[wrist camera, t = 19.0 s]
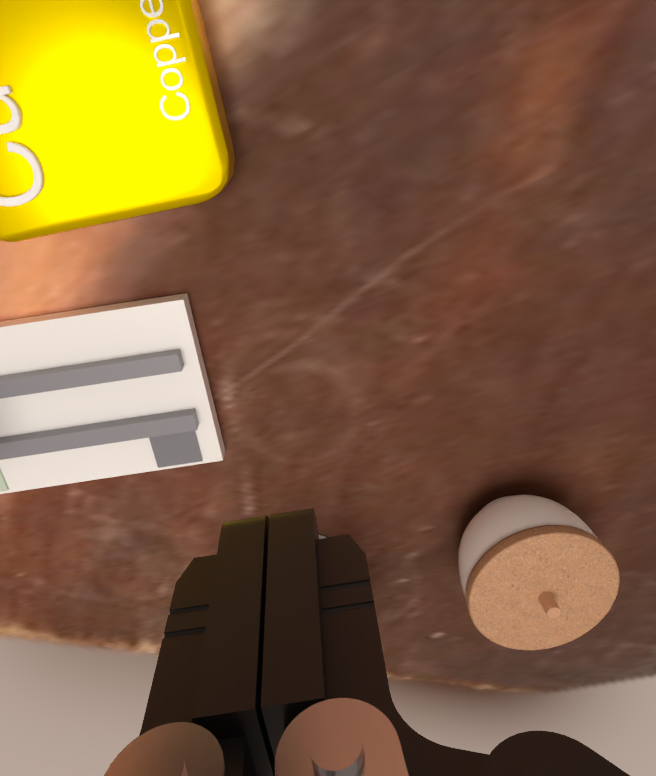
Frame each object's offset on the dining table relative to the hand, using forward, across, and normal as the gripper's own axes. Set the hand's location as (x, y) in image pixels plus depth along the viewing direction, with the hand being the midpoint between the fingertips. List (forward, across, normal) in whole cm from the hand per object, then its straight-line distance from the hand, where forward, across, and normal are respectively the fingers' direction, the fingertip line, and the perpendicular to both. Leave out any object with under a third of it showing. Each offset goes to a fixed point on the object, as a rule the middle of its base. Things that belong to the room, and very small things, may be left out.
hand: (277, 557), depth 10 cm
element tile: (+32, +10, -10) cm, 35 cm away
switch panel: (+31, +17, +9) cm, 36 cm away
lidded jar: (+31, -14, +26) cm, 43 cm away
